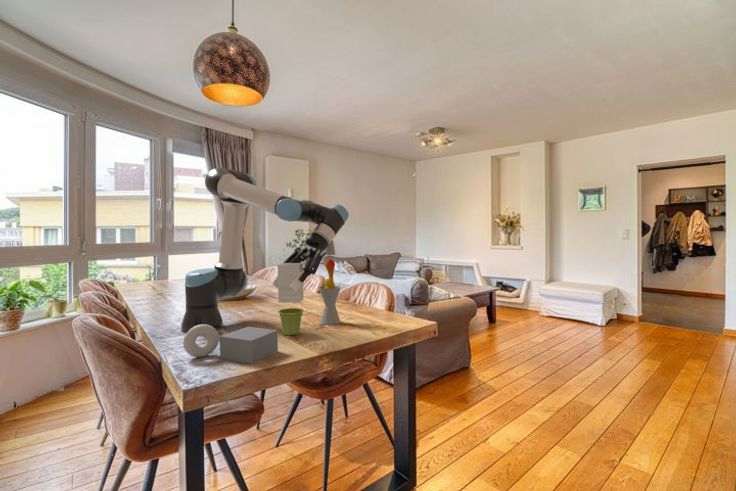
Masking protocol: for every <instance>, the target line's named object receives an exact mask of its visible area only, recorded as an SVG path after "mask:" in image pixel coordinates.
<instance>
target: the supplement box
mask: <svg viewBox="0 0 736 491" xmlns="http://www.w3.org/2000/svg"><path fill="white" fill-rule="evenodd" d="M303 268H304V262H300V263H283V262H282V263H280V264H278V265H277V275H278V288H277V294H278V295H277V300H278V302H277V303H278V304H281V303H282V304H284V303H285V304H287V303H291V304H295V303H296V304H297V303H299V304H300V303H301V302H302V301H304V282H303V283H302V284H301V286H300V287H299V288H298V290H297V291H294V290H293V289H292V288H291V287H290V285H291V284H292V283H293V281H294V280H295V279H296V277H297V276H298V275H299V273H300V272H301V271H304V270H303Z"/></svg>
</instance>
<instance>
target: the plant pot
mask: <svg viewBox="0 0 736 491" xmlns="http://www.w3.org/2000/svg"><path fill="white" fill-rule="evenodd" d="M277 312H278V314H279V317H280V322H281V323H280V324H281V331H282V334H283V335H284V336H290V335H291V336H293V335H295V336H296V335H299V334H300V330H301V322H302V316H303V314H304V309H303V308H297V307H296V308H295V307H294V308H293V307H289V308H283V309H278V311H277Z"/></svg>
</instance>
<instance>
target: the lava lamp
mask: <svg viewBox="0 0 736 491" xmlns="http://www.w3.org/2000/svg"><path fill="white" fill-rule="evenodd" d="M324 252H325V253H326V254H325V255H324V256H334V255H335V256H336V250H335V243H334V239H332V241H331V242H330V244H329V245H328V247H327V248H326V249H325V251H324ZM335 266H336V263H335V261H334V260H333V259H330V258H329V259H327V260H326V261H325V262H324V268H326V271H327V273H328V278H326V279H325V281H324V284H325V285H323V286H319V291H320V292H319V293H320V295H321V297H322V300H323V303H324V307H323V311H322V315H321V319H320V322H319V324H320V323H321V325H324V326H333V325H334V326H335V325H339V324H340V323H341V318H340V316H339V313H338V309H337V307H336V303H337V300H338V297H339V294H340V291H341V286H340V285H336V284H335V282H334V272H335Z"/></svg>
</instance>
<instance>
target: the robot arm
mask: <svg viewBox="0 0 736 491" xmlns="http://www.w3.org/2000/svg"><path fill="white" fill-rule="evenodd" d="M204 185H205V188H206V190H207V191H208V192H209V193H210V194H212V195H214V196H215V197H220V203H221V204H223V217H222V218H223V219H222V224H221V225H222V226H221V237H220V245H219V248H220V249H219V258H218V261H217V262H216V263H215V264H214V268H211V267H210V268H209V267H208V268H200V269H199V268H198V269H194V270H192V271H188V272H187V273H186V275H185V277H184V278H185V279H184V280H185V282H184V287H185V288H184V289H185V290H184V291H185V292H184V294H185V311H184V315H183V318H182V320H181V324H180V330H181V332H183V333H187V332H188V331H189V330H190V329H191V328H193V327H194V326H197V325H201V324H207V325H210V326H212V327H213V328H215V329H216V331H217V330H219V329H222V328H223V327H224V321H223V318H222V315H221V312H220V309H219V302H218V301H219V300H220V299H223V298H228V297H235V296H236V295H239V294H241V293H243V292H244V291H245V290H246V287H247V286H248V285H247V284H248V280H249V279H248V275H247V273H246V271H245V270H244V266H243V264H242V263H241V259H242V257H241V255H242V246H243V237H244V228H245V219H246V218H245V217H246V208H248V207H250V206H252V207H254V208H257V209H260V210H262V211H265V212H268V213H270V214H272V215H275V216H278V218H279V219H280V220H282V221H287V222H301V223H302V222H304V223H311V224H314V225H316V226H315V228H314V229H313V231H312V232H311V233H310V234H309V236H308V237H307V238H306V239H305V244H306V245H305V246H303V248H301V247H300V246H298V247H297V248H296V249H294V252H293V253H292V254H290V255H289V256H288V257H287V259H285V260H284V261H283V262H282V263H304V262H305V265H304V267H303V271H301V272H300V273H299V275H298V276H297V277H296V279H295V280H294V281H293V283H292V284H291V285H290V287H291V288H292V289H293V290H294V291H297V290H298V288H299V287H300V286H301V284H302V283H303V284H304V282H305V281H306V280H307V278H308V277H310V276H311V275H313V276H314V275H316V273H317V271H318V269H319V267H320V265H321V262H322V260H323V258H324V257H325V256H326V255H325V254H326V253H325V252H324V251H325V249H326V248H327V247H328V245H329V244H330V242H331V241H332V240H334V239H335V237H336V235H337V234H338V233H339V231H340V230H341V229H342V228H343V226H345V224H346V222H347V221H348V219H349V211H348V210H347V209H346V207H345V206H343V205H341V204H338V203H337V204H333V205H332V206H331V208H329V207H327V206H324V205H321V204H319V203H316V202H313V201H312V200H308V199H302V200H298V199H294V198H292V197H289V196H285V195H283V194H280V193H277V192H274V191H271V190H269V189H265V188H263V187H260V186H258V185H257V182H256V180H255V179H254V177H253V176H252V175H250V174H249V173H247V172H244V171H239V170H233V169H231V168H225V167H215V168H213V169H211V170H209V171H208V172H207V174H206V175H205V178H204ZM271 284H272V286H273V287H275V288H276V289H278V274H276V276H275V277H274V279H273V280H272V282H271Z"/></svg>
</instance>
